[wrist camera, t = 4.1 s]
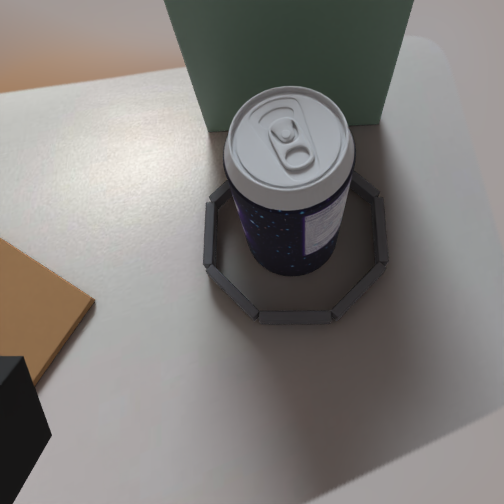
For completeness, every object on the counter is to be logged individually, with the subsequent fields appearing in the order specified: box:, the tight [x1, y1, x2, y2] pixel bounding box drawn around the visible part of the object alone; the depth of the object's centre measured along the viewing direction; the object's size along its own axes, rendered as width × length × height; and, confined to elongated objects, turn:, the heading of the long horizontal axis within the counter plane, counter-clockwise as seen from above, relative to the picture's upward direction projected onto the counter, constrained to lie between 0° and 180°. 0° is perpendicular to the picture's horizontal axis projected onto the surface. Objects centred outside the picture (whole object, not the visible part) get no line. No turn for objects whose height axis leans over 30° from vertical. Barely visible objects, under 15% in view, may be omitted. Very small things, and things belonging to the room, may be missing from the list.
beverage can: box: [223, 86, 356, 276], centre depth 24 cm, size 6×6×12 cm
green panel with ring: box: [164, 0, 414, 324], centre depth 23 cm, size 15×12×16 cm
